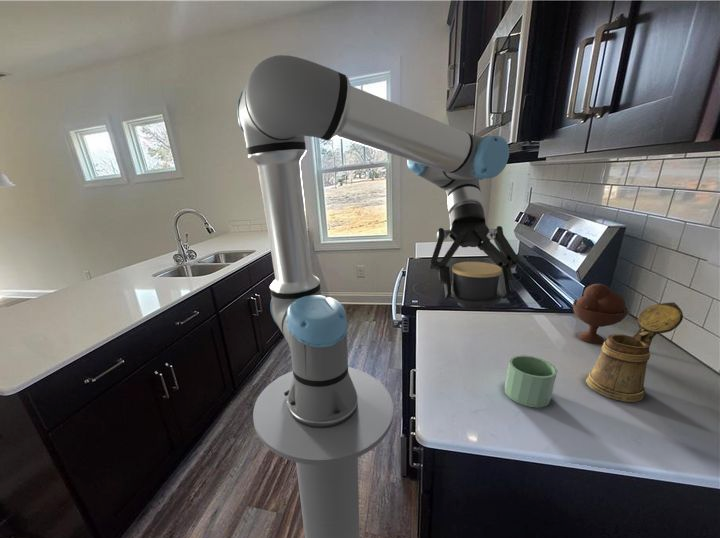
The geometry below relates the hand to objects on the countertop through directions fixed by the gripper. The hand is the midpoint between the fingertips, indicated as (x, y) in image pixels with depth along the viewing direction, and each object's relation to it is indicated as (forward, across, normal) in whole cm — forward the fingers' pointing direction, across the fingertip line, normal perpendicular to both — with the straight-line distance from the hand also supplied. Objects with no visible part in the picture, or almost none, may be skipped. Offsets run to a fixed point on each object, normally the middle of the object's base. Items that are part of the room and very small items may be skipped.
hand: (477, 296), depth 67 cm
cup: (+19, -10, -9) cm, 23 cm away
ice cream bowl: (0, -36, -28) cm, 45 cm away
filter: (0, 0, -4) cm, 4 cm away
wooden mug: (+15, -30, -12) cm, 36 cm away
